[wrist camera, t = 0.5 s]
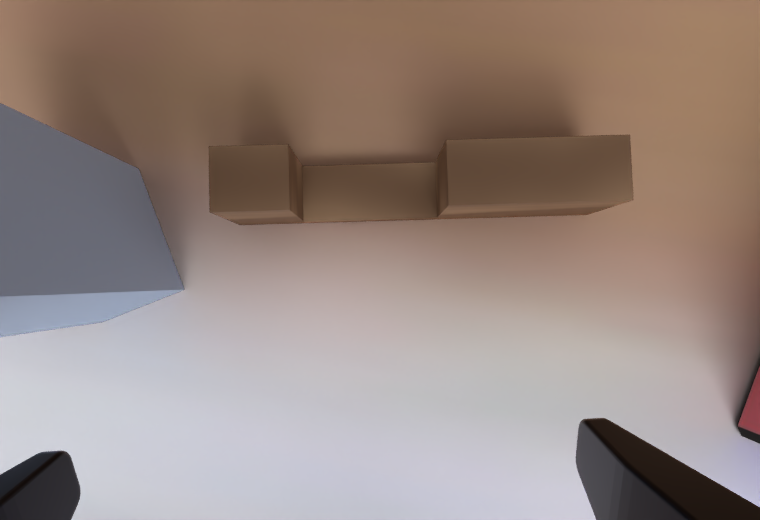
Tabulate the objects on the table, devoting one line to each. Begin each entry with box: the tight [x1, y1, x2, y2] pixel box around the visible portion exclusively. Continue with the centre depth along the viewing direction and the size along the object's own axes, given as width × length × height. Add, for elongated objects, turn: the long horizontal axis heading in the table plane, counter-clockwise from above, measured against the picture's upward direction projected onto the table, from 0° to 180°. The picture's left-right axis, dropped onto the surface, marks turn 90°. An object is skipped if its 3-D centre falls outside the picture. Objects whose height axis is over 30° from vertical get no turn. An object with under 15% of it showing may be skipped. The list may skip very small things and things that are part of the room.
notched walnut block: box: [209, 135, 633, 225], centre depth 20 cm, size 2×16×4 cm, turn 92°
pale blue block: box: [0, 103, 184, 337], centre depth 15 cm, size 6×4×13 cm, turn 22°
